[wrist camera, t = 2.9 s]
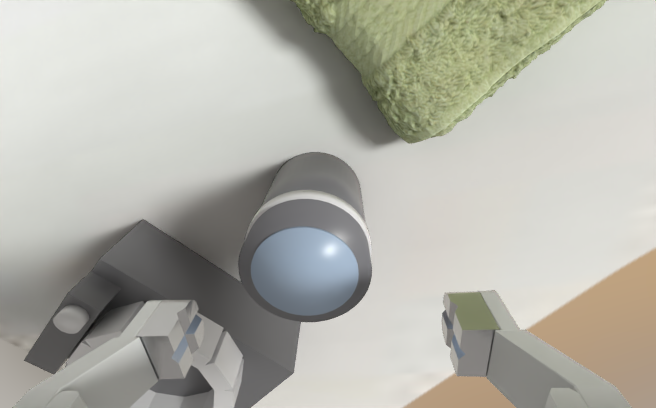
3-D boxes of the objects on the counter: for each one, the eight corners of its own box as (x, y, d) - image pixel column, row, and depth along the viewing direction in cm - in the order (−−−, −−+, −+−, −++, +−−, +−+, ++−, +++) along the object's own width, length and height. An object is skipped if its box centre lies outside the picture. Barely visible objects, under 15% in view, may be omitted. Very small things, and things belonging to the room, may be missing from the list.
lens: (277, 236, 20) (248, 328, 14) (263, 153, 18) (220, 217, 11) (364, 232, 20) (375, 324, 13) (361, 147, 18) (373, 209, 11)
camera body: (87, 298, 23) (5, 382, 17) (145, 216, 20) (68, 285, 14) (234, 379, 26) (205, 472, 20) (303, 319, 23) (291, 408, 17)
